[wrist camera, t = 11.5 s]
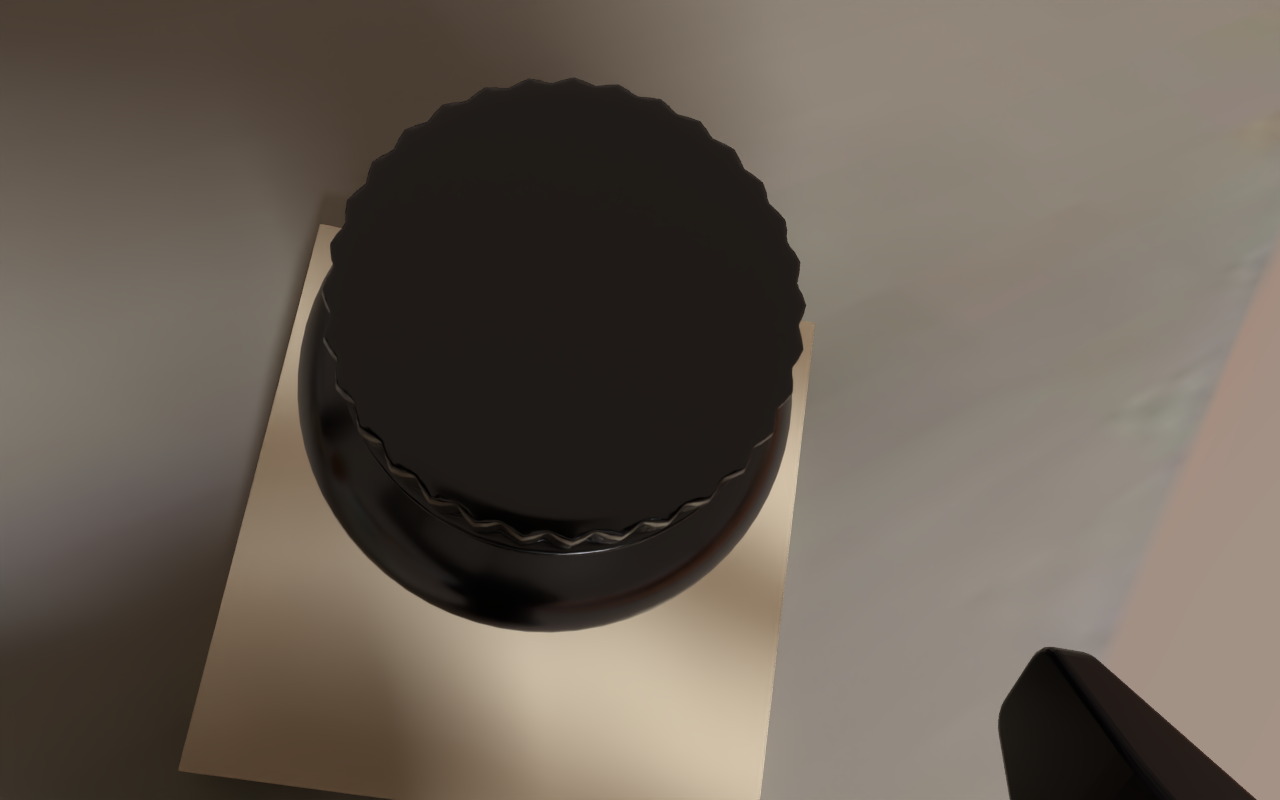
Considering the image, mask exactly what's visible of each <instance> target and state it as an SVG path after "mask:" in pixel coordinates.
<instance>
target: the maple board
mask: <svg viewBox="0 0 1280 800" xmlns="http://www.w3.org/2000/svg"><path fill="white" fill-rule="evenodd" d="M341 229H342V228H339V227H334V226H329V225H324V224H320V226H319V230H318V234H317V238H316V241H315V245H314V249H313V253H312V257H311V261H310V265H309V268H308V272H307V276H306V280H305V284H304V288H303V291H302V295H301V299H300V303H299V307H298V311H297V314H296V318H295V322H294V326H293V330H292V334H291V338H290V341H289V345H288V349H287V353H286V357H285V361H284V364H283V368H282V372H281V376H280V380H279V384H278V388H277V391H276V395H275V399H274V403H273V407H272V411H271V414H270V418H269V422H268V426H267V430H266V434H265V437H264V441H263V445H262V449H261V453H260V457H259V461H258V464H257V468H256V472H255V476H254V480H253V484H252V487H251V491H250V495H249V499H248V503H247V507H246V511H245V514H244V518H243V522H242V526H241V530H240V534H239V537H238V541H237V545H236V549H235V553H234V557H233V560H232V564H231V568H230V572H229V576H228V580H227V584H226V587H225V591H224V595H223V599H222V603H221V607H220V610H219V614H218V618H217V622H216V626H215V630H214V634H213V637H212V641H211V645H210V649H209V653H208V657H207V660H206V664H205V668H204V672H203V676H202V680H201V683H200V687H199V691H198V695H197V699H196V703H195V707H194V710H193V714H192V718H191V722H190V726H189V730H188V733H187V737H186V741H185V745H184V749H183V753H182V757H181V760H180V764H179V768H178V771H183V772H190V773H197V774H205V775H212V776H220V777H227V778H235V779H242V780H250V781H257V782H265V783H272V784H280V785H287V786H295V787H302V788H309V789H317V790H324V791H332V792H339V793H347V794H354V795H362V796H369V797H377V798H384V799H392V800H760V794H761V785H762V777H763V768H764V759H765V751H766V742H767V733H768V725H769V716H770V707H771V699H772V690H773V682H774V673H775V664H776V656H777V647H778V638H779V630H780V621H781V612H782V604H783V595H784V586H785V578H786V569H787V561H788V552H789V543H790V535H791V526H792V517H793V509H794V500H795V491H796V483H797V474H798V465H799V457H800V448H801V439H802V431H803V422H804V414H805V405H806V396H807V388H808V379H809V370H810V362H811V353H812V344H813V336H814V327H815V323H811V322H806V321H801V322H800V324H799V328H800V332H801V336H802V342H803V348H804V350H803V352H802V354H801V356H800V358H799V360H798V361H797V363H796V364H795V365H794V366H793V368H792V376H793V393H792V409H791V419H790V428H789V433H788V438H787V443H786V448H785V452H784V455H783V459H782V462H781V465H780V469H779V472H778V475H777V477H776V479H775V482H774V484H773V487H772V489H771V491H770V494H769V496H768V498H767V500H766V501H765V503H764V505H763V507H762V509H761V511H760V513H759V514H758V516H757V518H756V519H755V521H754V522H753V524H752V525H751V527H750V528H749V530H748V531H747V532H746V534H745V535H744V537H743V538H742V539H741V540H740V541H739V543H738V544H737V545H736V546H735V547H734V549H733V550H732V551H731V552H730V553H729V554H728V555H727V556H726V557H725V558H724V559H723V560H722V561H721V562H720V563H719V564H718V565H717V566H716V567H715V568H714V569H713V570H712V571H711V572H710V573H708V574H707V575H706V576H705V577H703V578H702V579H701V580H700V581H698V582H697V583H696V584H695V585H693V586H692V587H690V588H689V589H687V590H686V591H684V592H683V593H681V594H680V595H678V596H677V597H675V598H673V599H672V600H670V601H668V602H666V603H664V604H662V605H660V606H658V607H656V608H654V609H652V610H650V611H648V612H645V613H643V614H640V615H638V616H635V617H632V618H630V619H627V620H624V621H620V622H617V623H613V624H609V625H606V626H602V627H596V628H591V629H585V630H579V631H568V632H555V633H545V632H523V631H515V630H508V629H501V628H496V627H492V626H488V625H484V624H480V623H476V622H473V621H470V620H467V619H464V618H461V617H458V616H455V615H453V614H450V613H448V612H446V611H444V610H442V609H440V608H437V607H435V606H433V605H431V604H429V603H427V602H426V601H424V600H422V599H421V598H419V597H417V596H416V595H414V594H412V593H410V592H409V591H407V590H406V589H404V588H403V587H402V586H400V585H399V584H398V583H396V582H395V581H394V580H392V579H391V578H390V577H388V576H387V575H386V574H385V573H383V572H382V571H381V570H380V569H379V568H378V567H377V566H376V565H375V564H374V563H373V562H371V561H370V560H369V559H368V558H367V557H366V556H365V555H364V554H363V552H362V551H361V550H360V549H359V548H358V547H357V546H356V544H355V543H354V542H353V541H352V540H351V539H350V538H349V536H348V535H347V533H346V532H345V531H344V529H343V528H342V526H341V525H340V524H339V522H338V521H337V519H336V518H335V517H334V515H333V513H332V511H331V509H330V508H329V506H328V504H327V502H326V501H325V499H324V497H323V495H322V493H321V491H320V489H319V486H318V484H317V482H316V479H315V477H314V475H313V472H312V470H311V466H310V463H309V460H308V457H307V454H306V450H305V447H304V442H303V437H302V432H301V427H300V421H299V410H298V399H297V392H298V367H299V359H300V350H301V345H302V340H303V336H304V331H305V327H306V323H307V320H308V317H309V314H310V311H311V308H312V305H313V302H314V300H315V297H316V295H317V293H318V291H319V289H320V287H321V284H322V282H323V280H324V278H325V276H326V275H327V273H328V271H329V270H330V268H331V266H332V264H333V263H332V261H331V254H330V243H331V241H332V240H333V238H334V237H335V235H336V234H337V233H338V232H339V231H340V230H341Z"/></svg>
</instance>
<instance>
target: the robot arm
mask: <svg viewBox="0 0 1280 800" xmlns="http://www.w3.org/2000/svg"><path fill="white" fill-rule="evenodd" d="M998 731H999V738H1000V744H1001V750H1002V756H1003V762H1004V768H1005V774H1006V780H1007V786H1008V792H1009V798H1010V800H1256V799H1255V798H1254V797H1253V796H1252V795H1251V794H1250V793H1248V792H1247V791H1246V790H1245V789H1244V788H1243V787H1241V786H1240V785H1239V784H1238V783H1237V782H1236V781H1235V780H1234V779H1232V778H1231V777H1230V776H1229V775H1228V774H1227V773H1226V772H1225V771H1223V770H1222V769H1221V768H1220V767H1219V766H1218V765H1217V764H1215V763H1214V762H1213V761H1212V760H1211V759H1210V758H1209V757H1207V756H1206V755H1205V754H1204V753H1203V752H1202V751H1201V750H1200V749H1198V748H1197V747H1196V746H1195V745H1194V744H1193V743H1192V742H1190V741H1189V740H1188V739H1187V738H1186V737H1185V736H1184V735H1183V734H1181V733H1180V732H1179V731H1178V730H1177V729H1176V728H1174V727H1173V726H1172V725H1171V724H1170V723H1169V722H1167V720H1165V719H1164V718H1163V717H1162V716H1161V715H1160V714H1159V713H1158V712H1156V711H1155V710H1154V709H1153V708H1152V707H1151V706H1150V705H1148V704H1147V703H1146V702H1145V701H1144V700H1143V699H1142V698H1141V697H1139V696H1138V695H1137V694H1136V693H1135V692H1134V691H1133V690H1131V689H1130V688H1129V687H1128V686H1127V685H1126V684H1125V683H1123V682H1122V681H1121V680H1120V679H1119V678H1118V677H1117V676H1116V675H1114V674H1113V673H1112V672H1111V671H1110V670H1109V669H1108V668H1106V667H1105V666H1104V665H1103V664H1102V663H1101V662H1100V661H1099V660H1097V659H1096V658H1095V657H1093V656H1091V655H1090V654H1087V653H1084V652H1080V651H1074V650H1068V649H1062V648H1056V647H1045V648H1043V649H1041V650H1039V651H1038V652H1036V653H1035V655H1034V656H1033V657H1032V659H1031V660H1030V662H1029V663H1028V665H1027V666H1026V668H1025V669H1024V671H1023V672H1022V674H1021V675H1020V677H1019V679H1018V680H1017V682H1016V683H1015V685H1014V686H1013V688H1012V689H1011V691H1010V692H1009V694H1008V695H1007V697H1006V699H1005V700H1004V702H1003V704H1002V706H1001V710H1000V713H999V719H998Z"/></svg>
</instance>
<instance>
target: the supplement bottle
mask: <svg viewBox="0 0 1280 800" xmlns="http://www.w3.org/2000/svg"><path fill="white" fill-rule="evenodd" d="M345 213H346V222H345V224H344V226H343V227H342V229H341V230H340V231H339V232H338V233H337V234H336V235H335V237H334V238H333V240H332V241H331V243H330V254H331V261H332V263H333V264H332V266H331V268H330V270H329V271H328V273H327V275H326V276H325V278H324V280H323V282H322V284H321V287H320V289H319V291H318V293H317V295H316V297H315V300H314V302H313V305H312V308H311V311H310V314H309V317H308V320H307V323H306V327H305V331H304V336H303V340H302V345H301V350H300V359H299V367H298V392H297V399H298V410H299V421H300V427H301V432H302V437H303V442H304V447H305V450H306V454H307V457H308V460H309V463H310V466H311V470H312V472H313V475H314V477H315V479H316V482H317V484H318V486H319V489H320V491H321V493H322V495H323V497H324V499H325V501H326V502H327V504H328V506H329V508H330V509H331V511H332V513H333V515H334V517H335V518H336V519H337V521H338V522H339V524H340V525H341V526H342V528H343V529H344V531H345V532H346V533H347V535H348V536H349V538H350V539H351V540H352V541H353V542H354V543H355V544H356V546H357V547H358V548H359V549H360V550H361V551H362V552H363V554H364V555H365V556H366V557H367V558H368V559H369V560H370V561H371V562H373V563H374V564H375V565H376V566H377V567H378V568H379V569H380V570H381V571H382V572H383V573H385V574H386V575H387V576H388V577H390V578H391V579H392V580H394V581H395V582H396V583H398V584H399V585H400V586H402V587H403V588H404V589H406V590H407V591H409V592H410V593H412V594H414V595H416V596H417V597H419V598H421V599H422V600H424V601H426V602H427V603H429V604H431V605H433V606H435V607H437V608H440V609H442V610H444V611H446V612H448V613H450V614H453V615H455V616H458V617H461V618H464V619H467V620H470V621H473V622H476V623H480V624H484V625H488V626H492V627H496V628H501V629H508V630H515V631H523V632H545V633H555V632H568V631H579V630H585V629H591V628H596V627H602V626H606V625H609V624H613V623H617V622H620V621H624V620H627V619H630V618H632V617H635V616H638V615H640V614H643V613H645V612H648V611H650V610H652V609H654V608H656V607H658V606H660V605H662V604H664V603H666V602H668V601H670V600H672V599H673V598H675V597H677V596H678V595H680V594H681V593H683V592H684V591H686V590H687V589H689V588H690V587H692V586H693V585H695V584H696V583H697V582H698V581H700V580H701V579H702V578H703V577H705V576H706V575H707V574H708V573H710V572H711V571H712V570H713V569H714V568H715V567H716V566H717V565H718V564H719V563H720V562H721V561H722V560H723V559H724V558H725V557H726V556H727V555H728V554H729V553H730V552H731V551H732V550H733V549H734V547H735V546H736V545H737V544H738V543H739V541H740V540H741V539H742V538H743V537H744V535H745V534H746V532H747V531H748V530H749V528H750V527H751V525H752V524H753V522H754V521H755V519H756V518H757V516H758V514H759V513H760V511H761V509H762V507H763V505H764V503H765V501H766V500H767V498H768V496H769V494H770V491H771V489H772V487H773V484H774V482H775V479H776V477H777V475H778V472H779V469H780V465H781V462H782V459H783V455H784V452H785V448H786V443H787V438H788V433H789V428H790V419H791V409H792V393H793V376H792V368H793V366H794V365H795V364H796V363H797V361H798V360H799V358H800V356H801V354H802V352H803V350H804V348H803V342H802V336H801V332H800V328H799V324H800V322H801V319H802V317H803V314H804V311H805V307H806V304H805V301H804V298H803V295H802V293H801V291H800V290H799V287H798V284H797V282H798V277H799V271H800V261H799V259H798V257H797V256H796V254H795V252H794V251H793V250H792V249H791V247H790V246H789V244H788V242H787V227H786V221H785V219H784V218H783V217H782V216H781V215H780V214H779V212H778V211H777V210H775V209H774V208H773V207H772V206H771V205H770V204H769V202H768V199H767V193H766V190H765V187H764V184H763V182H761V181H760V180H759V179H758V178H757V177H755V176H754V175H753V174H751V173H750V172H748V171H747V170H745V169H744V168H743V165H742V163H741V161H740V159H739V157H738V155H737V154H736V152H735V150H734V149H733V148H731V147H729V146H727V145H725V144H723V143H721V142H719V141H717V140H715V139H713V138H712V137H711V136H710V134H709V133H708V131H707V129H706V128H705V127H704V126H703V124H702V123H701V122H700V121H698V120H695V119H692V118H689V117H685V116H681V115H678V114H676V113H675V112H674V111H673V110H672V109H671V108H670V107H669V106H668V105H667V104H666V103H665V102H663V101H662V100H661V99H655V98H647V97H638V96H636V95H634V94H632V93H631V92H630V91H629V90H627V89H625V88H624V87H622V86H620V85H603V86H594V85H592V84H590V83H587V82H585V81H582V80H579V79H577V78H570V79H565V80H562V81H558V82H555V83H547V82H543V81H540V80H534V79H527V80H525V81H522V82H520V83H518V84H516V85H514V86H512V87H510V88H484V89H482V90H481V91H479V92H478V93H476V94H475V95H474V96H472V97H471V98H470V99H469V100H467V101H465V102H459V103H450V104H445V105H442V106H441V107H440V108H439V109H438V110H437V111H436V112H435V113H434V115H433V116H432V117H431V118H430V120H429V121H428V122H425V123H422V124H419V125H415V126H413V127H411V128H408V129H406V130H404V132H403V133H402V135H401V137H400V138H399V140H398V142H397V144H396V146H395V148H394V150H392V151H390V152H389V153H387V154H385V155H382V156H381V157H379V158H378V159H376V160H375V161H373V162H372V164H371V167H370V170H369V173H368V177H367V181H366V184H365V185H363V186H362V187H361V188H360V189H359V190H357V191H356V192H355V193H354V194H353V195H352V196H351V197H350V198H349V199H348V200H347V204H346V211H345Z"/></svg>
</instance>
